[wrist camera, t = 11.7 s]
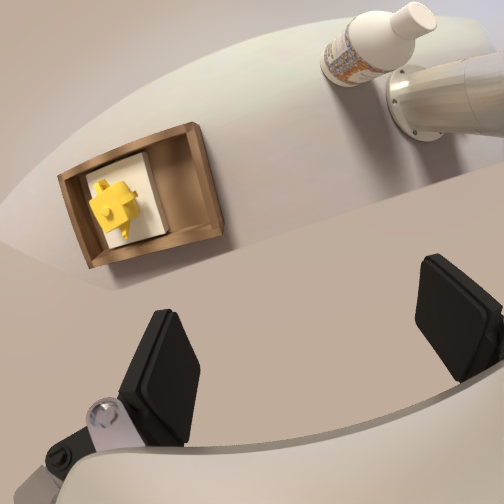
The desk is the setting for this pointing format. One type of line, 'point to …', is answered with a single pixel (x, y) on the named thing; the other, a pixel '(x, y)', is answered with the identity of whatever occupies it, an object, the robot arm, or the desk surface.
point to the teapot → (114, 206)
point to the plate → (148, 201)
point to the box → (169, 190)
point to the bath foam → (375, 44)
